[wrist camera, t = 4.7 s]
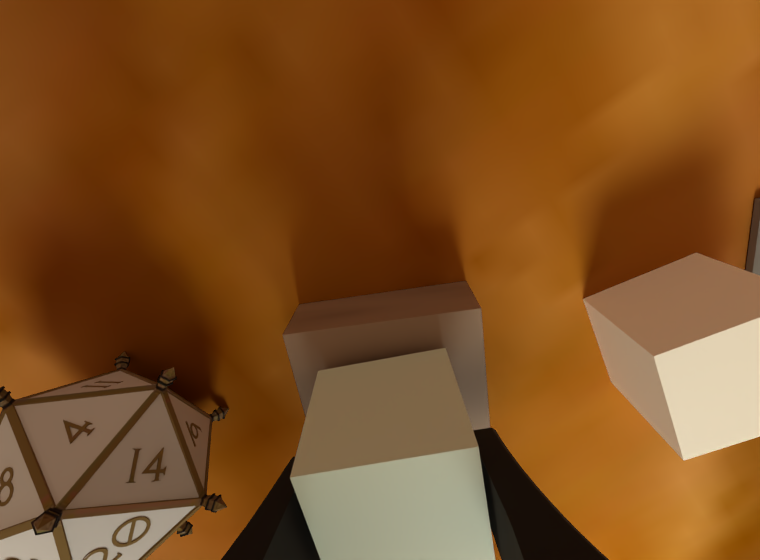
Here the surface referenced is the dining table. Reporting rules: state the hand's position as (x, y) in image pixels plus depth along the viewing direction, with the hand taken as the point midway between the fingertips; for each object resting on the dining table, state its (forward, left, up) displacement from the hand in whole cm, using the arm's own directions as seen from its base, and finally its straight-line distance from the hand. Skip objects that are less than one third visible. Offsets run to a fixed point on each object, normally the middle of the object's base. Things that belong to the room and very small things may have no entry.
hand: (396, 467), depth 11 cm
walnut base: (0, 0, -6) cm, 6 cm away
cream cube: (0, -11, -6) cm, 12 cm away
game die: (0, +11, -6) cm, 12 cm away
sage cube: (0, 0, -2) cm, 3 cm away
